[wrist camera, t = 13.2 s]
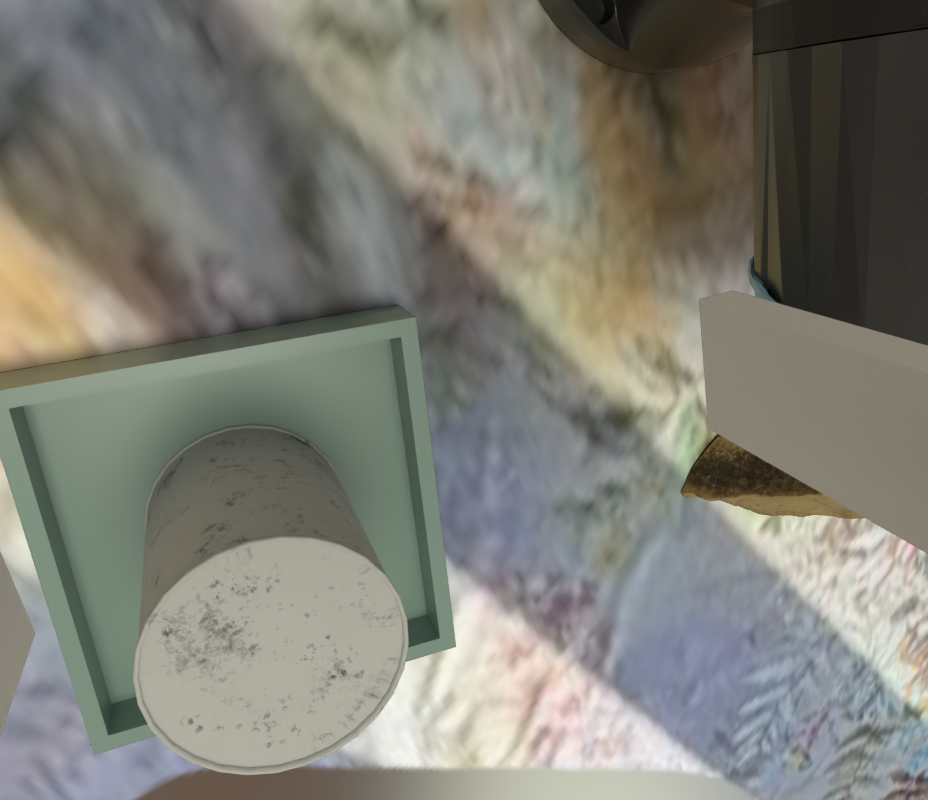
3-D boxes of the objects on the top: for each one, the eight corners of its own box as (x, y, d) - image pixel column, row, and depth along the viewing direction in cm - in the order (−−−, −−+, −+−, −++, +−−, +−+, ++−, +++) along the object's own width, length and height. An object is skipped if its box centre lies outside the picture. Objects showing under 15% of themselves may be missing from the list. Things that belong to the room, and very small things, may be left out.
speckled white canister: (297, 390, 39) (347, 489, 28) (374, 547, 42) (445, 690, 31) (104, 481, 37) (75, 625, 26) (202, 636, 41) (213, 820, 30)
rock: (901, 424, 50) (823, 352, 45) (956, 547, 45) (874, 483, 40) (747, 494, 56) (662, 438, 51) (779, 610, 51) (688, 561, 46)
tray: (398, 304, 40) (415, 317, 37) (438, 615, 46) (456, 646, 43) (-4, 373, 35) (-20, 393, 32) (99, 711, 41) (94, 754, 38)
